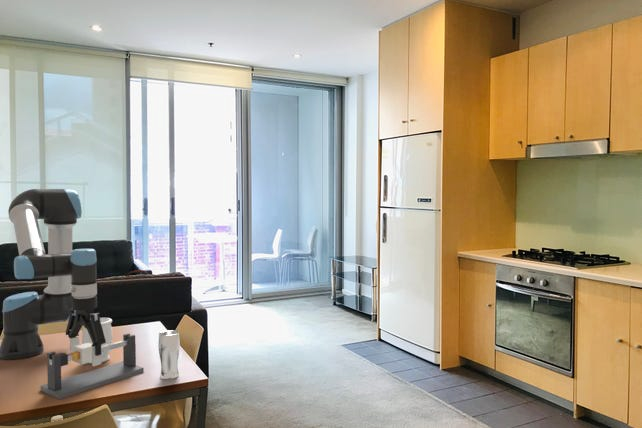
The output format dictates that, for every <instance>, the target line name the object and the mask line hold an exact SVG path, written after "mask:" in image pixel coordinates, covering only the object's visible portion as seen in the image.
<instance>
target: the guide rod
mask: <svg viewBox="0 0 642 428" xmlns="http://www.w3.org/2000/svg"><path fill="white" fill-rule="evenodd" d="M126 345H128V339H127V340H123V339H122V340H120V341H115V342H112V343H111V344H107V345H103V346H101V352H104V351H108V350H110V351H112V350H114V349H115V350H116V349H119V348H123V346H126ZM58 354H61V367H64V366H67V365H69V362H71V361H72V362H74V361H75V360H79V359H80V352H77V351H75V352H71V353H70V352H69V354H68V353H65V352H60V353H58ZM49 363H50V365H52V359H49Z"/></svg>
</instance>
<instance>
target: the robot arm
mask: <svg viewBox="0 0 642 428" xmlns="http://www.w3.org/2000/svg"><path fill="white" fill-rule="evenodd" d="M7 210H8V219H9V221H10V222H11V223H12V224H13V226H14V227H13V228H14V235H15V240H16V244H17V250H18V255H17V256H15V257H14V260H13V273H14V277H15V279H17V280H27V279H28V280H32V279H42V278H48V279H47V286H46V287H45V288H44V289H43V294H38V292H37V291H26V292H22V293H16V294H12V295H10V296H8V297H5V298H4V300H3V302H2V311H1V312H2V315H3V316H2V321H3V322H2V325H3V326H2V327H3V330H2V331H3V335H2V336H3V337H2V340H1V342H0V359H1V360H19V359H25V358H31V357H35V356H38V355H40V354H42V353H43V352H44V346H45V345H44V343H43V340H42V338H41V336H40V334H39V326H40V325H46V324H53V323H62V322H64V323H65V322H67V325H66V330H65V335H66V336H67V337H68V338H69V354H70V353H71V352H74V346H77V345H80V337H79V336H80V334H79V333H80V331H81V328H82V327H83V326H84V327H85V328H86V329H87V330H88V333H89V335H90V338H91V340H92V342H93V344H92V364H91V366H92V367H96V366H99V365H102V363H101V345H102V344H104V343H106V340H105V337H104V333H103V329H102V326H101V322H100V318H101V316H100V312H96V313H94V309H95V308H97V307H98V297H97V295H98V283H97V282H98V281H97V279H98V278H97V274H98V273H97V261H98V259H97V251H96V250H95V249H94V248H76V249H73V227H74V226H76V225H77V223H78V221H77V219H81V218H82V203H81V200H80V196H79V193H78V192H77V191H76V190H74V189H67V188H45V189H44V188H40V189H39V188H33V189H32V188H31V189H27V190H25V191H23V192H21V193H19V194H18V195H16V196H15V197H14V199H12V201H11V202H10V204H9V207H8V209H7ZM38 220H43V224H44V225H45V226H46V227H47V232H48V233H47V238H48V239H47V254H46V250H45V246H44V242H43V238H42V233H41V230H40V225H39V221H38ZM82 325H83V326H82Z"/></svg>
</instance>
